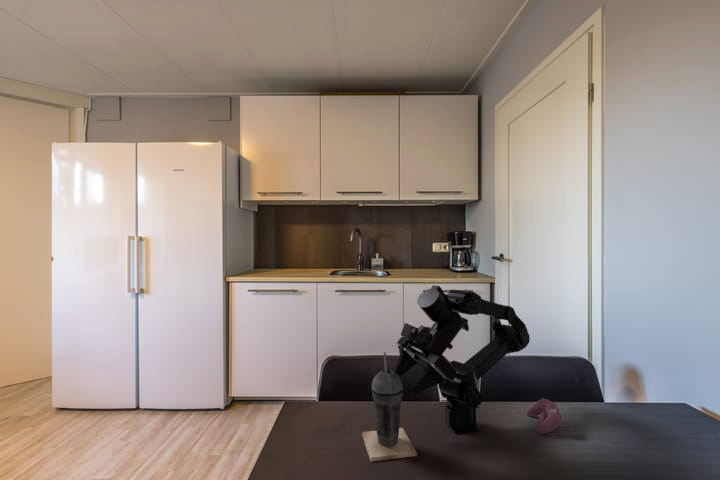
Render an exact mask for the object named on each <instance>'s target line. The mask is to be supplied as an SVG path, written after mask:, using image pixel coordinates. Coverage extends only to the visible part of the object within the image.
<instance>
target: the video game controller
mask: <svg viewBox="0 0 720 480" xmlns="http://www.w3.org/2000/svg"><path fill="white" fill-rule="evenodd" d="M525 414H526V415H527V416H528V417H530V418H533V417H538V416H539V419H540V421H541V422H539V423H538V425H537V426H536V432H538V434H540V435H545V434H549V433H551V432H552V431H554V430H555V429H556V428H558V427H559V426H560V425H561V424H562V422H563V416H562V414H561V412H560V410H559V408H558V405H557V404H556V403H555V402H554V401H551V400H549V399H547V398H544V397H542V398H541V399H538V400H537V401H535V403H533V404H532V405H530V406H529V407H527V409H526V410H525Z"/></svg>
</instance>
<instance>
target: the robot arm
mask: <svg viewBox="0 0 720 480" xmlns="http://www.w3.org/2000/svg"><path fill="white" fill-rule="evenodd" d="M416 302H417V303H416V304H417V305H418V306H419V308H420V310H422V311H423V312H424V314H425V315H426V316H427V318H429V319H430V320H431V322H434V323H433V324H432V325H431V327H429V326H424V325H421V324H420V325H419V326H418V327H416V326H414V325H412V324H409V323H406V322H405V323H404V325H403V328H402V330H401V333H400V336H401V337H400V338H398V341H396V343H397V348H398V352H399V357H398V360H397V363H396V366H395V368H394V371H393V372H395V373H396V374H397V375H398V376H399V378H400V379H401V377H403V376H404V375H405V374H406V373H407V372H409V371H410V370H411V369H412V368H413V367H415V366H416V365H418V361H419V360H421V359H422V360H423V365H422V366H423V367H422V368H423V369H422V371H421V373H420V375H419V377H417V379H416V380H415V383H414V384H413V385H412V388H411V389H410V394H411V395H412V396H416V395H418V394H421V393H422V392H424V391H426V390H428V389H430V388H433V387H434V386H437V385H438V388H439V391H440V394H441V395H440V396H441V397H442V398H445V399H446V405H444V418H443V419H444V422H445V423H446V424H447V426H448V427H449V428H450V429H451V430H452V431H453V432H454V433H455V434H461V433H471V432H479V431H480V427H479V426H478V425H477V411H476V409H477V408H479V406H480V405H481V404H482V401H483V394H482V392H480V390H478V381H479V380H480V378H482V377H483V376H484V375H486V374H487V373H488V371H490V370H491V369H492V368H493V367H494V366H495V365H497V364H498V363H499V362H500V361H501V360H502V359H503V358H504V357H505V356H506V355H508V354H512V353H518V352H521V351H522V350H524V349H526V348H527V346H528V345H529V343H530V341H531V339H530V334H529V332H528V331H529V330H528V328H527V326H526V325H527V324H525V322H524V321H523V320H522V319H521V318H520V317H519V316H518V315H517V313H516V310H515V309H514V307H512V306H510V305H505V304H504V305H503V304H501V303H496V302H494V301H490V300H485V299H483V298H482V296H481V295H480V294H478V293H476V292H474V291H472V290H471V291H470V290H461V289H450V290H449V291H448V293H447V294H445V292H444V290H443V289H442V287H441V286H440V285H434V284H433V285H432V286H431V288H429V289H426V290H424V291H423V292H422V293H421V294H419V296H418V297H417V301H416ZM461 314H463V315H471V316H472V315H475V316H477V315H480V314H481V315H484V316H489V317H492V318H493V322H492V329H493V339H491V341H489V342H488V343H487V344H486V345H484V347H482V348H481V349H480V350H478V352H476V353H475V354H474V355H472V356H471V357H470V358H469V359H467V360H466V361H465V362H464V363H463V362H459V361H457V360H452V361H450V360H449V359H447V358H446V356H444V355H443V354H444V353H445V351H446V350H447V349H449V350H452V349H453V348H454V345H453V344H452V342H453V340H454V339H455V338H456V337H457V336H458V334H459V332H460V331H461V330H464V331H466V332H469V331H470V327H469V319H468V318H465V317H462V315H461ZM501 320H503V321H507V322H508V324H505V323H504V324H502V322H501Z"/></svg>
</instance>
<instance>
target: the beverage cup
mask: <svg viewBox="0 0 720 480" xmlns="http://www.w3.org/2000/svg"><path fill="white" fill-rule="evenodd" d="M383 362H384V364H383V366H384V369H383V370H381V371H379V372H377V374H376V375H374V378H372V382H371V388H370V390H371V394H372V399H373V405H374V406H373V407H374V416H375V417H374V418H375V427H376V428H375V429H376V431H377V436H378V443H379V444H380V445H382V446H386V447H391V446H394V445H396V444H397V443H398V435H399V428H400V420H401V405H402V398H403V392H404V387H403V386H404V385H403V382H402V380H401V377H400V378H399V376H398V375H397V374H396V373H395V372H394V371H393V370H390V369H387V367H388V366H387V352H386V351H385V352H383Z"/></svg>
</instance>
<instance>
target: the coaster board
mask: <svg viewBox="0 0 720 480" xmlns="http://www.w3.org/2000/svg"><path fill="white" fill-rule="evenodd" d="M361 437H362V439H363V443H364V445H365V449H366V452H367V454H368V458H369V462H379V461H386V460H395V459H400V458H401V459H403V458H411V457H417V456H418V452H417V450H416V448H415V446H414V445H413V443H412V441H411V440H410V438H409V437H408V435H407V432H406V431H405V430H404V428H403V427H399V435H398V443H397V444H396V445H394V446H391V447H386V446H382V445H380V444H379V443H378V436H377V430H370V431H369V430H368V431H361Z"/></svg>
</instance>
